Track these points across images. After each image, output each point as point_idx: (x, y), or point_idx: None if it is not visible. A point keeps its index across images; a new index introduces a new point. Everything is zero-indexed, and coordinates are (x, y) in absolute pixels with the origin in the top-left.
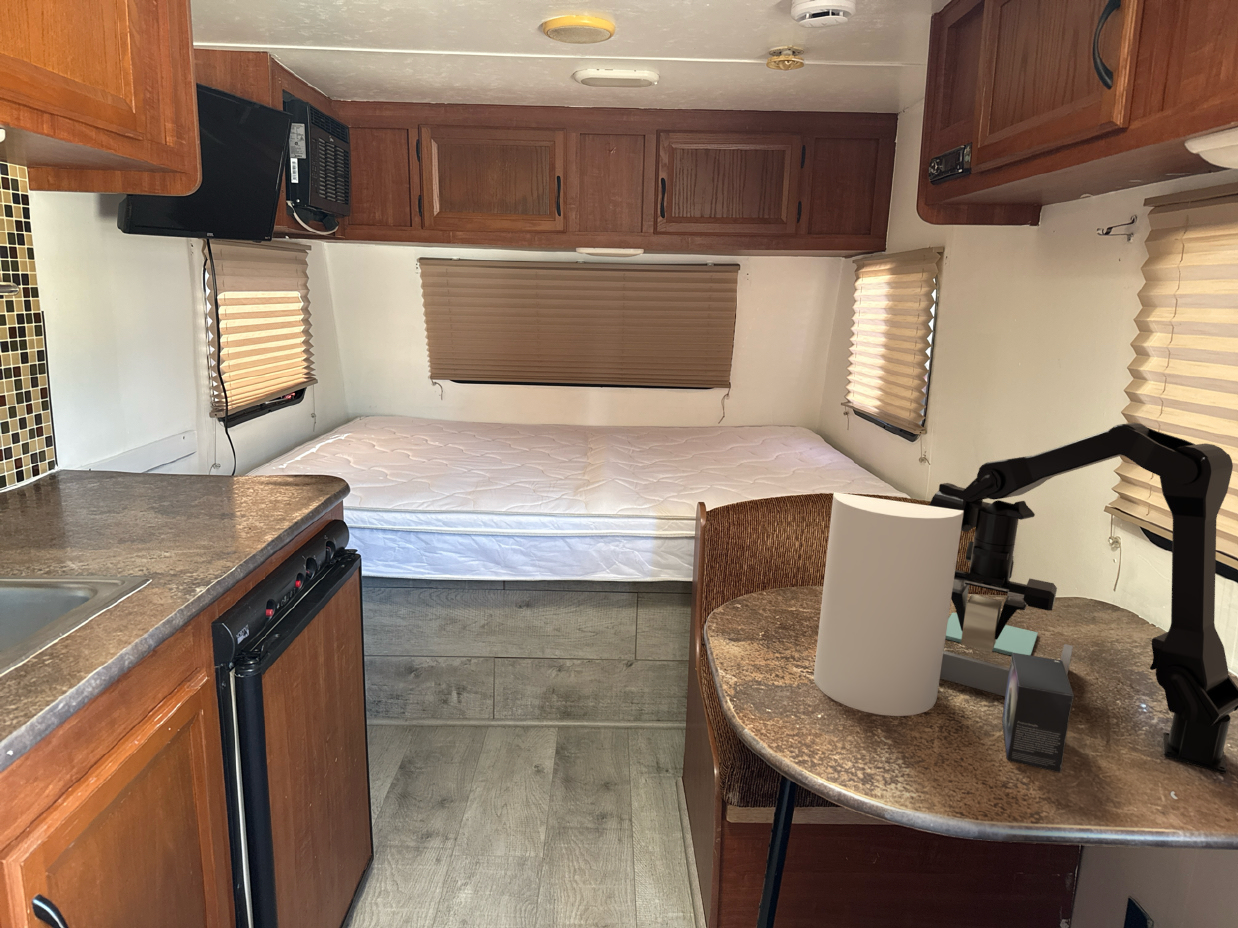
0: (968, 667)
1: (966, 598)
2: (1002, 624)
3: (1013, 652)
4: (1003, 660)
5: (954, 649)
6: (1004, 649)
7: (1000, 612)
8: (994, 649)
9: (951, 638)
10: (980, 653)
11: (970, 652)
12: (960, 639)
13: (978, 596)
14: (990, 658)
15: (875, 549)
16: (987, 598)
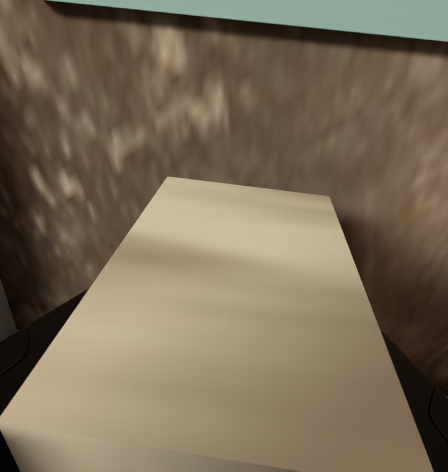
0: None
1: (10, 464)
2: None
3: (443, 40)
4: (366, 136)
5: (151, 130)
6: (395, 20)
7: (383, 347)
8: (336, 30)
9: (105, 5)
10: (263, 109)
11: (219, 125)
12: (150, 10)
13: (97, 446)
14: (306, 146)
15: None
16: (222, 468)
